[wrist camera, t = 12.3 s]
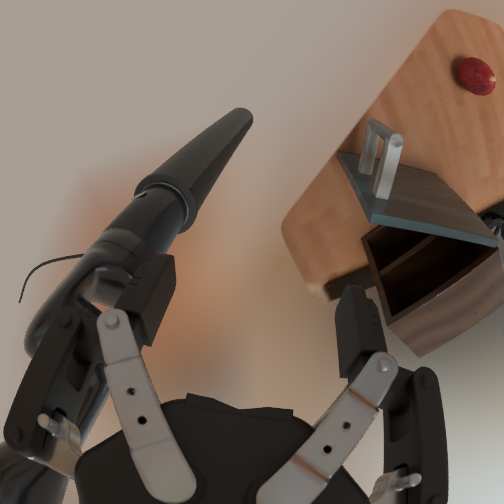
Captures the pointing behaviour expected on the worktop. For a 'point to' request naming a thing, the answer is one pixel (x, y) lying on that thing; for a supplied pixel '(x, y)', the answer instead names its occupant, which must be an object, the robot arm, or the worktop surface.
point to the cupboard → (432, 284)
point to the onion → (477, 76)
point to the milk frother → (498, 223)
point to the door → (408, 192)
